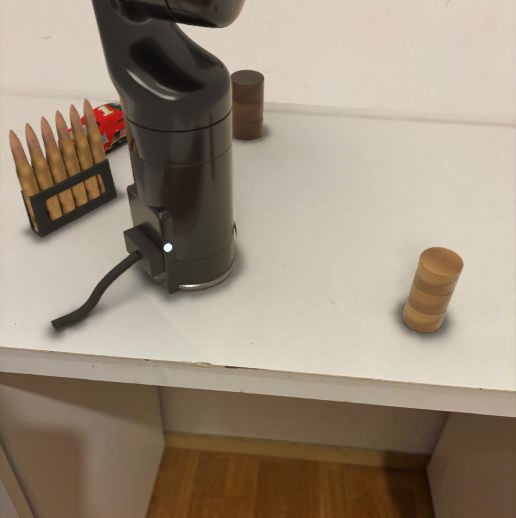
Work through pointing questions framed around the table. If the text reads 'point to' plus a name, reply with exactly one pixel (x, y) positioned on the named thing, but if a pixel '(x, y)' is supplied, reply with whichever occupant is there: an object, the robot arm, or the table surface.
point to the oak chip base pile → (432, 289)
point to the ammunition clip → (63, 171)
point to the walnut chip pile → (247, 104)
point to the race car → (108, 125)
